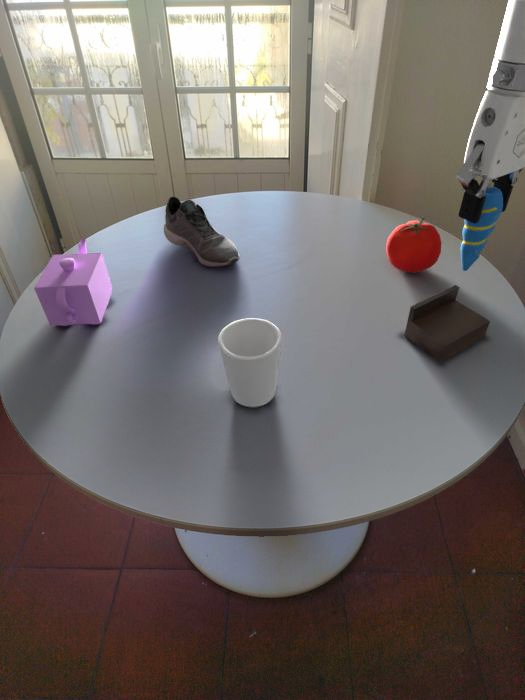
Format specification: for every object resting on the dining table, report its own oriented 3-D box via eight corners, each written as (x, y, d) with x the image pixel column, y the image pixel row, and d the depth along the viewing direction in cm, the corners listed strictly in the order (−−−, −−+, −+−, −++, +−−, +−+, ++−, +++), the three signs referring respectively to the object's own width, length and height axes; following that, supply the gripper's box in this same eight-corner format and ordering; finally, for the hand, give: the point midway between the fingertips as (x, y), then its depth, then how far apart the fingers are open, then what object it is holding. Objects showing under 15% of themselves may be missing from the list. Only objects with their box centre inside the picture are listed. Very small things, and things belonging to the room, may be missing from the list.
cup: (244, 366, 85) (240, 310, 77) (292, 385, 82) (293, 328, 73) (213, 402, 79) (205, 346, 71) (263, 424, 75) (261, 368, 67)
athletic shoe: (216, 279, 107) (210, 231, 99) (160, 238, 122) (151, 193, 114) (251, 263, 111) (248, 216, 103) (192, 225, 126) (186, 182, 118)
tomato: (431, 255, 111) (441, 211, 104) (440, 282, 103) (452, 237, 95) (380, 254, 112) (386, 210, 105) (384, 281, 104) (392, 236, 96)
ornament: (446, 275, 75) (470, 183, 65) (449, 259, 78) (473, 169, 68) (480, 280, 73) (511, 188, 63) (482, 264, 77) (511, 173, 67)
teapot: (99, 337, 93) (81, 284, 84) (49, 339, 93) (25, 287, 84) (119, 280, 108) (105, 231, 99) (75, 282, 108) (58, 233, 99)
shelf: (484, 337, 89) (495, 307, 84) (440, 362, 85) (449, 332, 80) (447, 313, 95) (455, 284, 90) (404, 335, 90) (410, 306, 86)
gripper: (504, 93, 52) (463, 241, 64) (592, 69, 58) (539, 207, 70) (450, 81, 56) (421, 220, 69) (537, 60, 63) (496, 191, 75)
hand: (481, 213), depth 69 cm, fingers closed on ornament, 5 cm apart
